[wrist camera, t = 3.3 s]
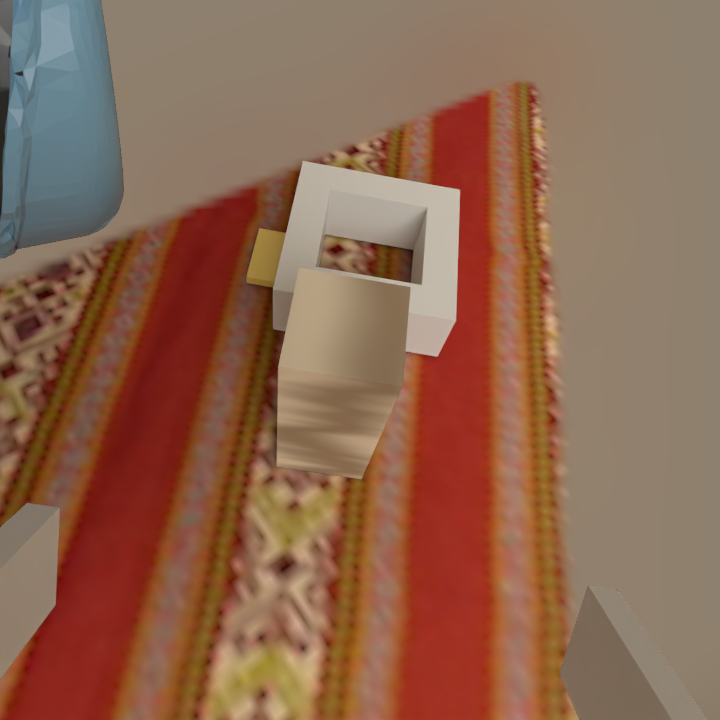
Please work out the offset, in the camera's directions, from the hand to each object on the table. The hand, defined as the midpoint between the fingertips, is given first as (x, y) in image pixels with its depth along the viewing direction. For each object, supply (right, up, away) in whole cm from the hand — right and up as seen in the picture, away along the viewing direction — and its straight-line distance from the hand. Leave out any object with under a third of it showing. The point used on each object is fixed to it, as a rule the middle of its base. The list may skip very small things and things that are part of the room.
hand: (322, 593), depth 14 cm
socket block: (0, +11, +22) cm, 25 cm away
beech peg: (-1, +2, +17) cm, 17 cm away
